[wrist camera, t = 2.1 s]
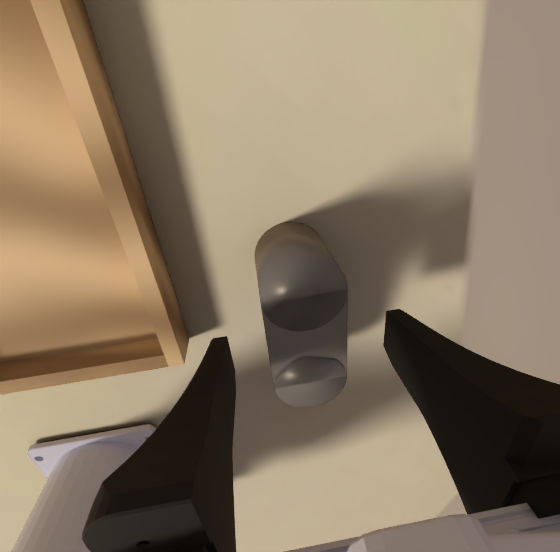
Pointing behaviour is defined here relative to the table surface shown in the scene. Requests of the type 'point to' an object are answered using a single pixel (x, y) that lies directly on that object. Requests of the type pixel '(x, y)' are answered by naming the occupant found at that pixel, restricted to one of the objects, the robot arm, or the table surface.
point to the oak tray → (72, 215)
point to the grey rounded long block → (302, 314)
